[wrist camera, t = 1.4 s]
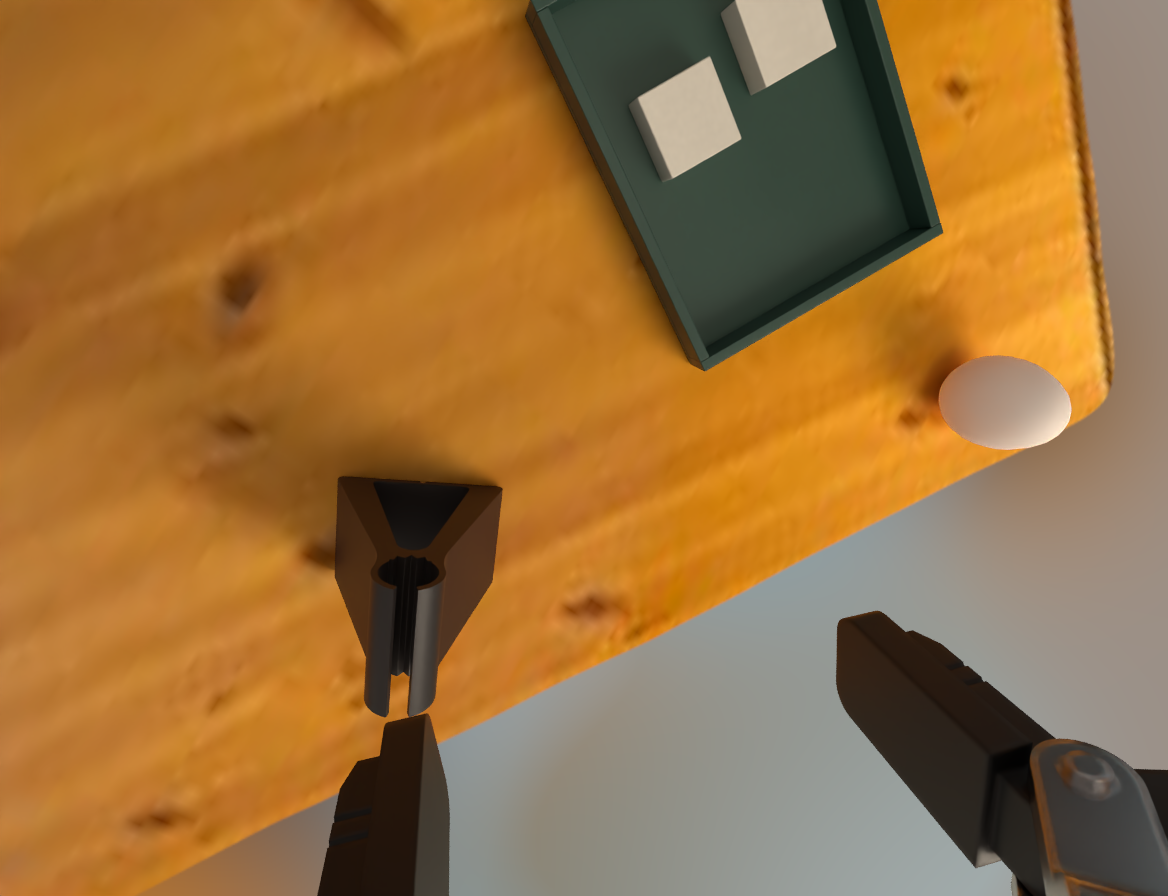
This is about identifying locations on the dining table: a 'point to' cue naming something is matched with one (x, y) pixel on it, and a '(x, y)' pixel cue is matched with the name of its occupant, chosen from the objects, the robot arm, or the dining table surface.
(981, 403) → the egg
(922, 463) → the dining table surface
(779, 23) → the cream slab tile
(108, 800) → the dining table surface
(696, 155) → the beige square tile
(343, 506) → the dark grey a-frame stand
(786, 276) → the tray
